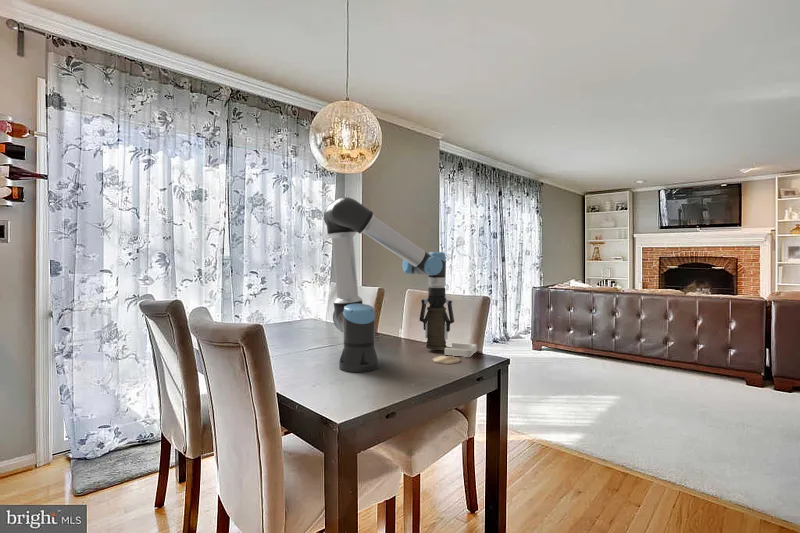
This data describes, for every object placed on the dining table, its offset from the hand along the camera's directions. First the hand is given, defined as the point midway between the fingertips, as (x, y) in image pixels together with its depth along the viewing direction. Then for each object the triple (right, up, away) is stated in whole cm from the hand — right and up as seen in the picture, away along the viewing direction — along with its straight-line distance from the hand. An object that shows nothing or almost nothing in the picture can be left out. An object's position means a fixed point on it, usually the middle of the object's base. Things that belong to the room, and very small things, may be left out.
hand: (436, 338), depth 186 cm
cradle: (+10, -6, -4) cm, 13 cm away
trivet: (+3, -6, -17) cm, 18 cm away
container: (0, -4, 0) cm, 5 cm away
